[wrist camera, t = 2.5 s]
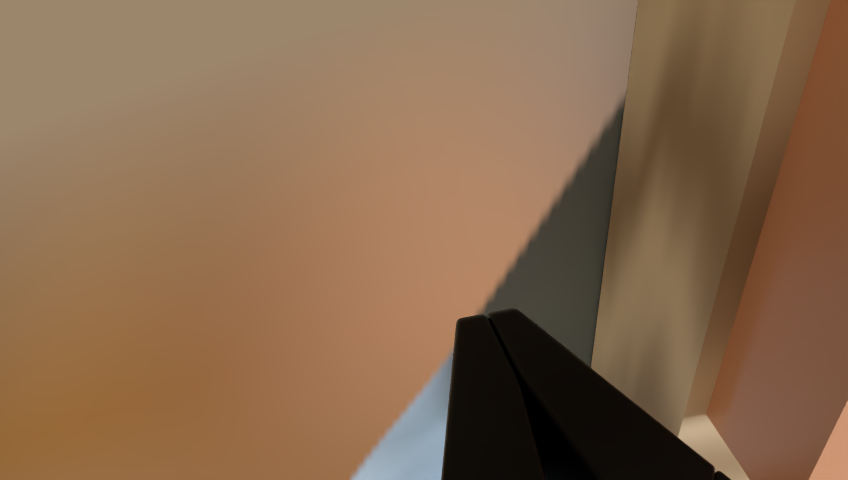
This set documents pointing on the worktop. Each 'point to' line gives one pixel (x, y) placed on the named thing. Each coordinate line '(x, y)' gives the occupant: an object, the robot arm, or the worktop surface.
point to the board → (695, 196)
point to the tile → (797, 296)
